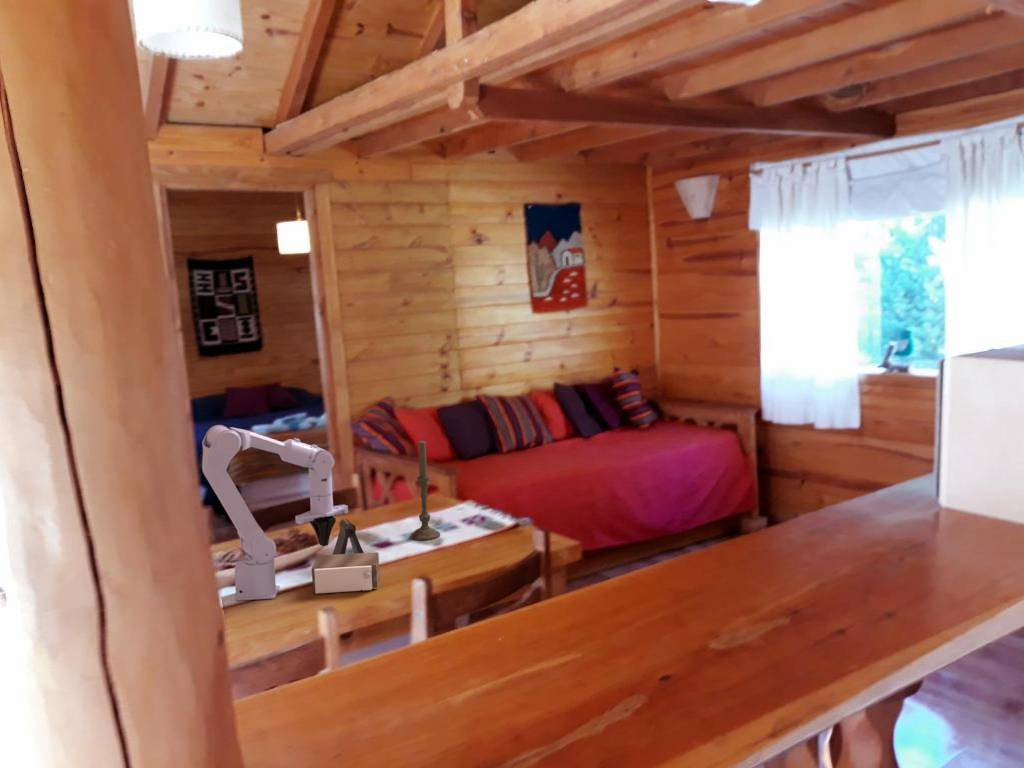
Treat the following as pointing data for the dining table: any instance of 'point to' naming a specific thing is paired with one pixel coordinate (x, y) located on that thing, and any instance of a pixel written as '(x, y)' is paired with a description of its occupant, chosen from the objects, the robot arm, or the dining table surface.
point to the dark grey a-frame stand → (343, 538)
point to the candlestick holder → (424, 500)
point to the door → (343, 579)
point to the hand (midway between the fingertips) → (323, 545)
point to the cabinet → (348, 564)
